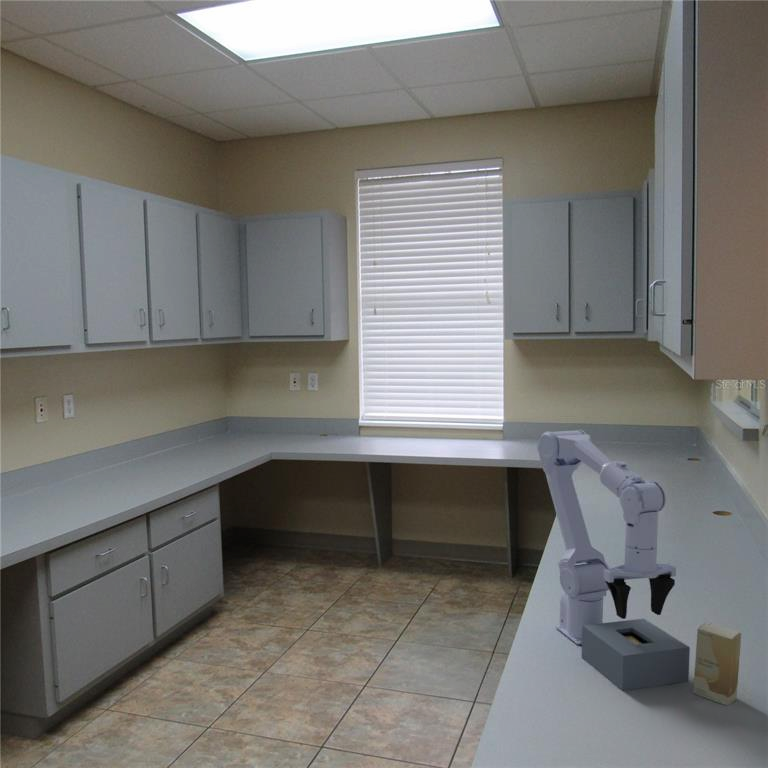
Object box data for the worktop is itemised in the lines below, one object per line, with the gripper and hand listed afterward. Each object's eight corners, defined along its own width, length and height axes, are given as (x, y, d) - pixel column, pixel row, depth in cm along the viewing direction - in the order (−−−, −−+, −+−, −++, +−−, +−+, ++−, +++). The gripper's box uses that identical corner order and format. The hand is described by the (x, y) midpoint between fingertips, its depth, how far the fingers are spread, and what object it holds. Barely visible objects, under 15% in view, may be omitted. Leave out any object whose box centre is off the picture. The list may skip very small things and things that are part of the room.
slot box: (581, 657, 146) (582, 625, 146) (642, 649, 150) (643, 618, 149) (622, 690, 133) (623, 655, 132) (688, 681, 136) (689, 647, 136)
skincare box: (692, 694, 132) (694, 627, 131) (702, 685, 135) (704, 620, 134) (729, 707, 127) (732, 638, 126) (739, 698, 130) (741, 631, 129)
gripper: (619, 554, 134) (616, 626, 135) (687, 548, 138) (684, 619, 139) (598, 543, 141) (596, 612, 142) (664, 538, 145) (661, 605, 146)
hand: (638, 614), depth 141 cm, fingers open, 7 cm apart
